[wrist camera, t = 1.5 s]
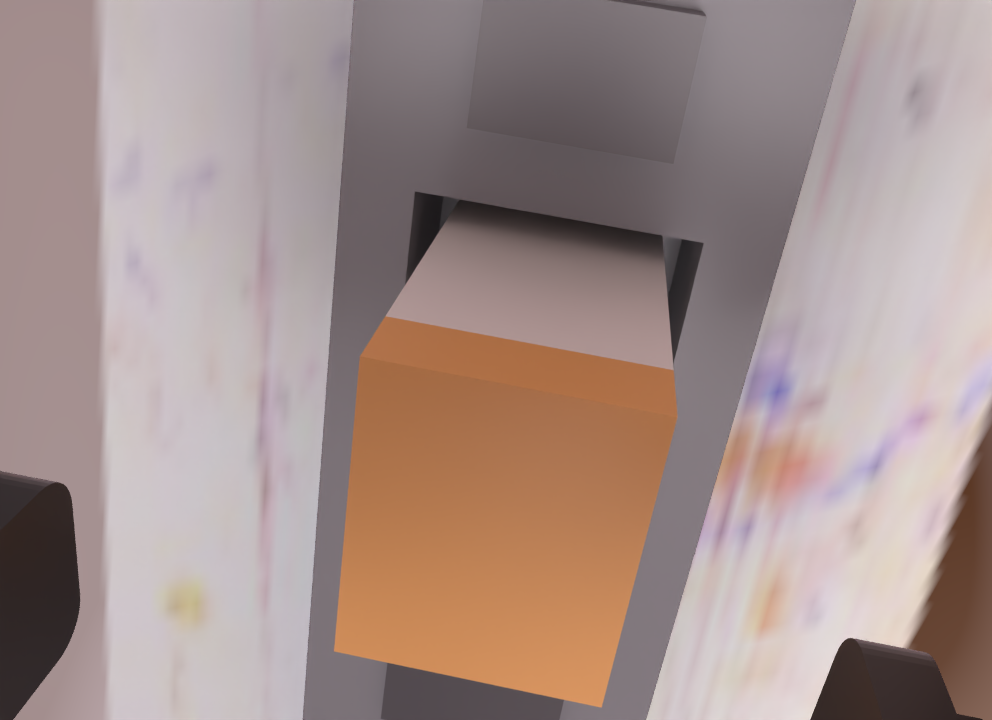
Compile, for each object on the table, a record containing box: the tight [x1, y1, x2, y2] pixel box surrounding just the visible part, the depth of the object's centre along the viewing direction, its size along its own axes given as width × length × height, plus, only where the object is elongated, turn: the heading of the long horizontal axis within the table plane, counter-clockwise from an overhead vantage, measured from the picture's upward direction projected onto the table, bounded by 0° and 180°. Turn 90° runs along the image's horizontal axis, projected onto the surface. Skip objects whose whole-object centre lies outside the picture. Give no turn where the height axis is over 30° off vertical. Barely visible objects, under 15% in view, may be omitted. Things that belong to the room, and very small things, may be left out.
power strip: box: [303, 0, 856, 720], centre depth 19 cm, size 22×7×5 cm, turn 173°
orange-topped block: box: [334, 200, 678, 708], centre depth 15 cm, size 4×4×8 cm
